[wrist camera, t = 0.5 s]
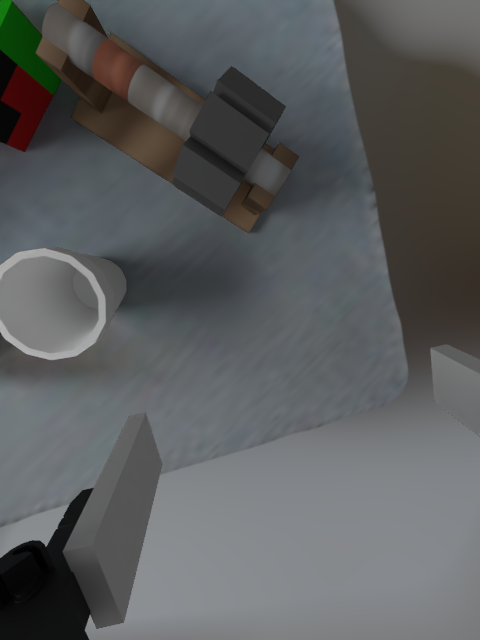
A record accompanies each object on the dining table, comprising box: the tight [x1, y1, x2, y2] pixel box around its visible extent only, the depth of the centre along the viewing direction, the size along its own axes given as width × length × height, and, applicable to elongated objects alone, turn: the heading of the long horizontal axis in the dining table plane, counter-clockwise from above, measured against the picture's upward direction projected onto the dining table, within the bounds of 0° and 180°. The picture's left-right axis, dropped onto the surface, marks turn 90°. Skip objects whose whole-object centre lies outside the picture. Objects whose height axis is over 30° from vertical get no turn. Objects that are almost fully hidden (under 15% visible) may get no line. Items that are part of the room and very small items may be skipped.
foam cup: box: [0, 247, 127, 360], centre depth 34 cm, size 10×9×13 cm
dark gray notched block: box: [172, 66, 286, 217], centre depth 29 cm, size 5×10×10 cm, turn 148°
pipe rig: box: [36, 0, 299, 233], centre depth 32 cm, size 22×9×12 cm, turn 58°
